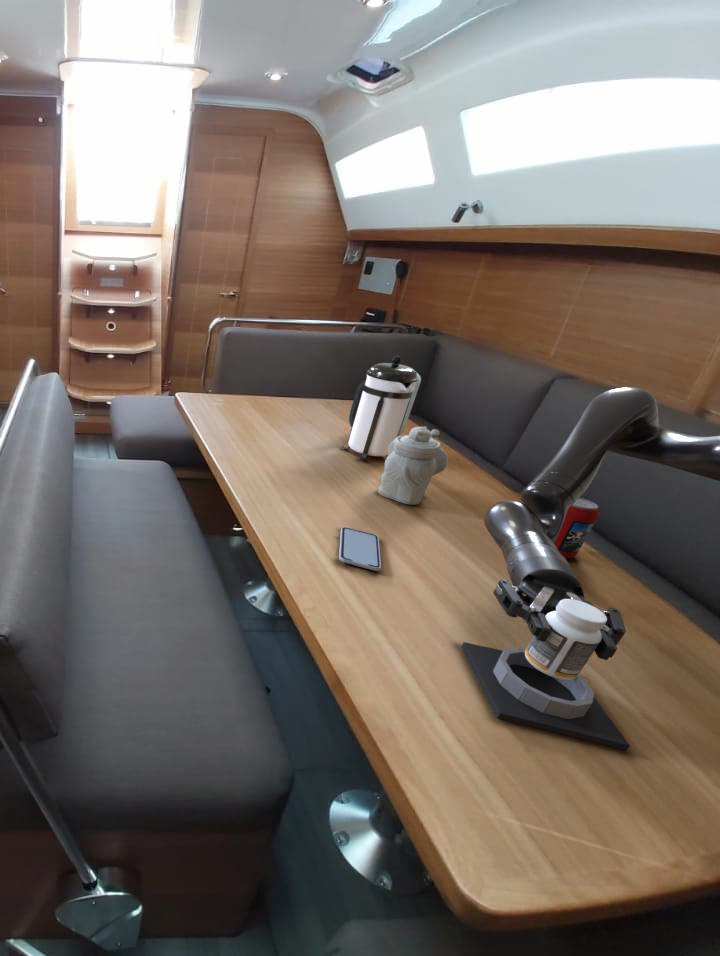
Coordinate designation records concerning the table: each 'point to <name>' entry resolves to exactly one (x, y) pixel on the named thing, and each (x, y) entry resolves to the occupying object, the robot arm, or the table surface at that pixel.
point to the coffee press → (380, 407)
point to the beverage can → (576, 527)
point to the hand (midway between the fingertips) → (574, 644)
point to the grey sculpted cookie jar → (412, 465)
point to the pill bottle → (567, 640)
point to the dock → (533, 717)
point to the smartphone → (359, 548)
